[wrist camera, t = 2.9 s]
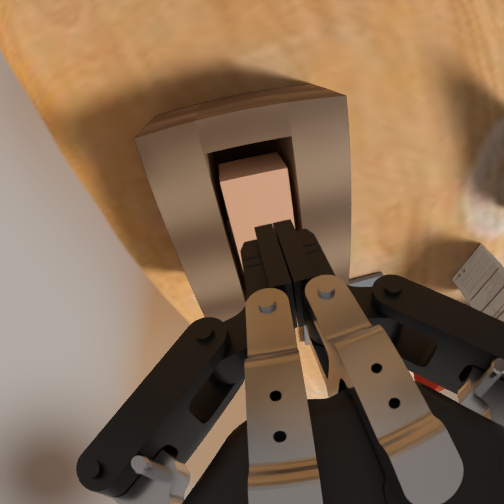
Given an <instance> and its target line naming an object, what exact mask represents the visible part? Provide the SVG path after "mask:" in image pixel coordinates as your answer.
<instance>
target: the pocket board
mask: <svg viewBox="0 0 504 504" xmlns="http://www.w3.org/2000/svg"><path fill="white" fill-rule="evenodd" d="M272 139H275V141H276V148H277V152H278V154H279V155H280V157H281V159H282V160H283V162H284V163H285V165H286V167H287V169H288V176H289V184H290V191H291V199H292V207H293V216H294V224H295V230H300V229H305V228H306V229H307V230H309V231H310V232H312V233H313V234H314V235H315V236H316V238H317V240H318V242H319V244H320V246H321V248H322V251H323V252H324V254H325V256H326V258H327V260H328V262H329V264H330V266H331V268H332V270H333V272H334V274H335V275H336V276H337V277H339V278H341V279H342V280H343V281H344V282H345V283H346V284H347V285H349V269H350V246H351V160H350V138H349V122H348V108H347V97H346V95H343V94H340V93H337V92H335V91H332V90H329V89H326V88H323V87H320V86H317V85H314V84H306V85H298V86H290V87H282V88H276V89H269V90H263V91H257V92H251V93H246V94H241V95H236V96H231V97H226V98H222V99H217V100H213V101H208V102H204V103H200V104H196V105H192V106H189V107H185V108H181V109H178V110H174V111H171V112H167V113H164V114H161V115H157V116H155V117H154V118H153V119H152V120H151V121H150V122H149V123H148V124H147V125H146V126H145V127H144V128H143V129H142V131H141V132H140V133H139V134H138V135H137V136H136V137H135V138H134V141H135V144H136V147H137V150H138V153H139V155H140V158H141V161H142V164H143V167H144V170H145V173H146V175H147V178H148V181H149V184H150V186H151V189H152V192H153V194H154V197H155V200H156V202H157V205H158V208H159V210H160V213H161V215H162V218H163V221H164V223H165V226H166V228H167V231H168V233H169V236H170V238H171V241H172V243H173V245H174V248H175V250H176V253H177V255H178V258H179V260H180V262H181V265H182V267H183V269H184V272H185V274H186V276H187V279H188V281H189V283H190V285H191V288H192V290H193V292H194V294H195V297H196V299H197V301H198V303H199V305H200V308H201V310H202V312H203V314H204V316H205V317H214V318H218V319H220V320H221V321H222V322H224V321H226V320H228V319H230V318H232V317H234V316H236V315H237V314H238V313H240V312H241V311H242V309H243V308H244V307H245V305H246V302H247V291H246V285H245V278H244V272H243V269H242V265H241V261H240V257H239V254H238V250H237V246H236V242H235V239H234V235H233V231H232V227H231V223H230V220H229V216H228V212H227V208H226V204H225V200H224V197H223V193H222V189H221V185H220V181H219V177H218V174H217V170H216V166H215V162H214V158H213V154H212V152H215V151H219V150H223V149H228V148H232V147H237V146H242V145H246V144H251V143H256V142H261V141H267V140H272Z"/></svg>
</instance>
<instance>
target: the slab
mask: <svg viewBox="0 0 504 504" xmlns="http://www.w3.org/2000/svg"><path fill="white" fill-rule="evenodd" d="M219 178H220V185H221V189H222V193H223V197H224V200H225V204H226V208H227V212H228V216H229V220H230V223H231V227H232V231H233V235H234V239H235V242H236V246H237V250H238V254H239V257H240V261H241V265H242V259H241V253H240V250H241V248H242V246H243V244H244V242H247V241H251V240H256V239H257V238H256V234H255V229H254V227H257V226H262V225H266V224H271V223H272V226H273V223H275V222H279V221H284V220H289V219H291V221H292V223H293V225H294V228H295V224H294V216H293V207H292V199H291V191H290V184H289V176H288V169H287V167H286V165H285V163H284V162H283V160H282V159H281V157H280V155H279V154H278V152H275V153H269V154H264V155H259V156H254V157H249V158H245V159H240V160H235V161H231V162H226V163H222V164H219ZM242 269H243V266H242Z"/></svg>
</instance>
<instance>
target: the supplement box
mask: <svg viewBox="0 0 504 504" xmlns="http://www.w3.org/2000/svg"><path fill="white" fill-rule="evenodd" d="M452 281H453V282H454V283H455V285H456V286H457V287H458V289H459V290H460V291H461V293H462V294H463V295H464V297H465V298H466V300H467V301H468V303H469V304H470V305H471V307H472V308H475V309H477V310H479V311H481V312H483V313H486V314H488V315H490V316H492V317H494V318H496V319H499V320H501V321H503V322H504V266H503V265H502V264H501V263H500V262H499V261H498V260H497V259H496V258H495V257H494V256H493V255H492V254H491V253H490V252H489V251H488V250H487V249H486V248H485V246H484V245H483V244H480V245H479V246H478V248H477V249H476V250H475V251H474V253H473V254H472V255H471V256H470V258H469V259H468V260H467V261H466V262H465V264H464V265H463V266H462V267H461V268H460V270H459V271H458V272H457V273H456V274H455V276H454V277H453V278H452Z"/></svg>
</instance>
